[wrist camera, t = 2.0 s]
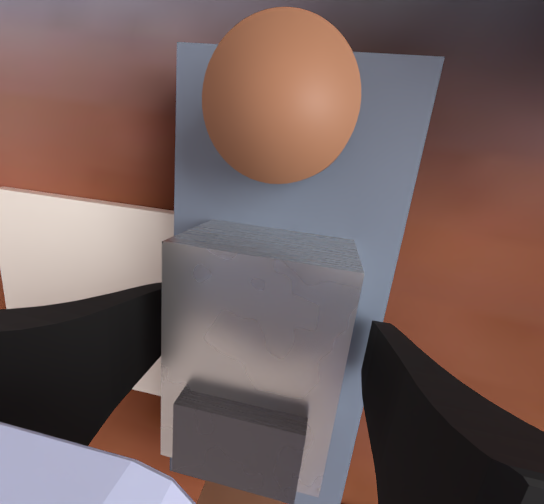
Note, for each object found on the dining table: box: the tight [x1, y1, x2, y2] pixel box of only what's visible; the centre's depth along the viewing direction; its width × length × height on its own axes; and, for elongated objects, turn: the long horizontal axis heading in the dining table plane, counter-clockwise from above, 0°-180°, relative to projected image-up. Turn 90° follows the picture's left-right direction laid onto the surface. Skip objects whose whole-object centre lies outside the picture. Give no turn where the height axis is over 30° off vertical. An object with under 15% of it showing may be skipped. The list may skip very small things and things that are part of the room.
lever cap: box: [161, 219, 365, 504], centre depth 10 cm, size 7×5×4 cm
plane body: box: [170, 7, 445, 504], centre depth 11 cm, size 18×8×7 cm, turn 174°
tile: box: [0, 187, 174, 396], centre depth 16 cm, size 10×10×1 cm
